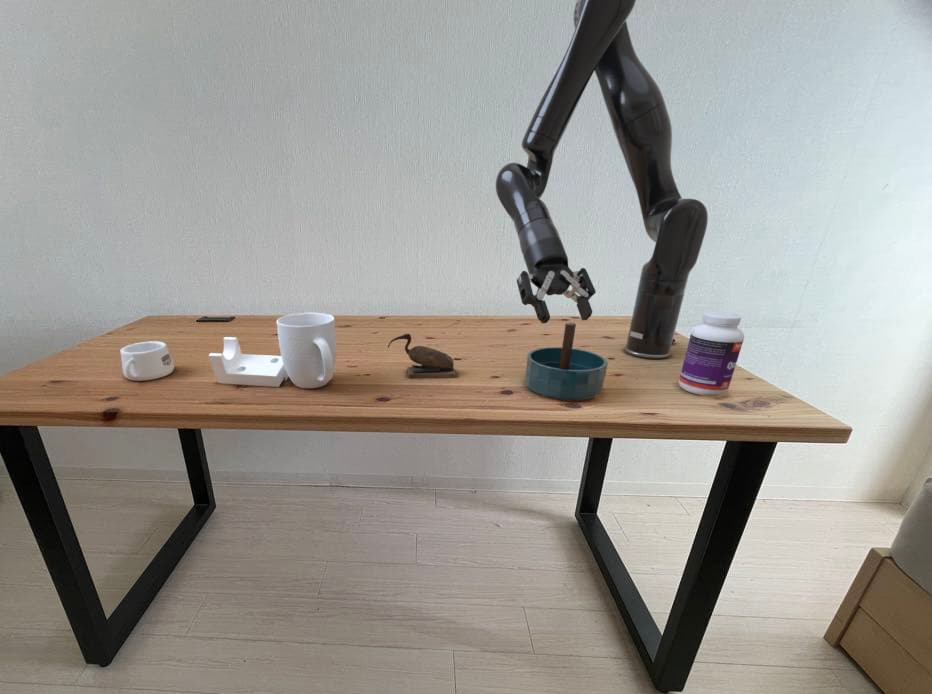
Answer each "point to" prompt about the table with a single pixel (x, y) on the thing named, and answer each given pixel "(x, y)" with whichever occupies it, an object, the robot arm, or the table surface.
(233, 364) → the bracket
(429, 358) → the figurine
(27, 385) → the table surface
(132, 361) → the mug
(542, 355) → the bowl
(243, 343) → the table surface
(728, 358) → the pill bottle
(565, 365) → the brown peg
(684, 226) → the robot arm
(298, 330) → the mug
